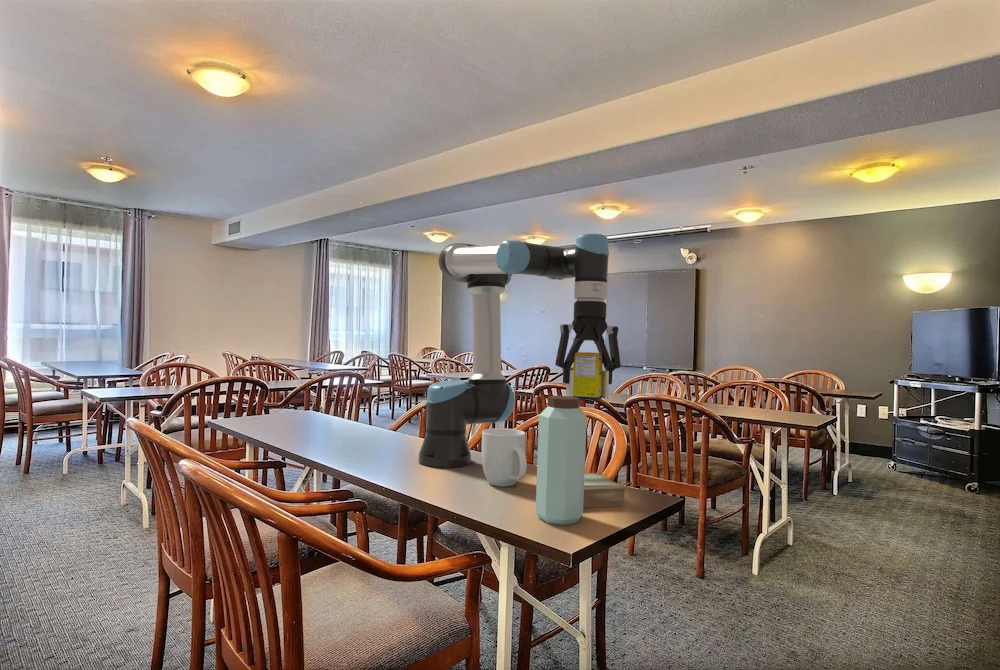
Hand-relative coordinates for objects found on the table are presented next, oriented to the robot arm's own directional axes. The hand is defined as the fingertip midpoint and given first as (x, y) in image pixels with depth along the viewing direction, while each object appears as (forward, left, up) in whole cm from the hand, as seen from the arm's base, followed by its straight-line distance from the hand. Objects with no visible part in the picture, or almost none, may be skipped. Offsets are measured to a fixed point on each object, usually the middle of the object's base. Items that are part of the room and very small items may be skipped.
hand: (586, 397), depth 130 cm
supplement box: (0, 0, 0) cm, 0 cm away
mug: (-13, -16, -24) cm, 31 cm away
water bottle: (+13, -10, -24) cm, 29 cm away
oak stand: (0, 0, -23) cm, 23 cm away
